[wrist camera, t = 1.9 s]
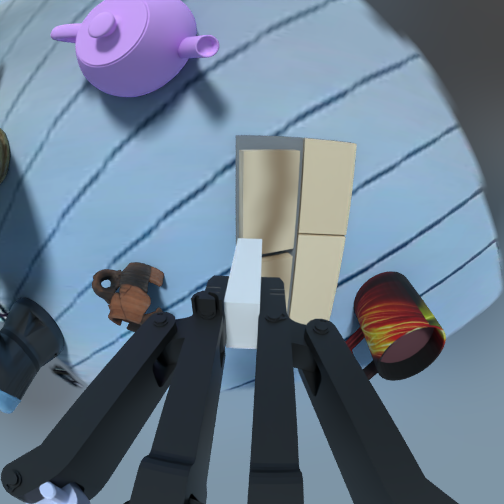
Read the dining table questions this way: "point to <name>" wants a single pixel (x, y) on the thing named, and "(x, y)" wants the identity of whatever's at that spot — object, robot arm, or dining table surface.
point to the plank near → (268, 197)
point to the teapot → (135, 44)
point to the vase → (4, 155)
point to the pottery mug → (128, 293)
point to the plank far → (278, 269)
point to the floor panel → (313, 218)
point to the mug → (395, 327)
